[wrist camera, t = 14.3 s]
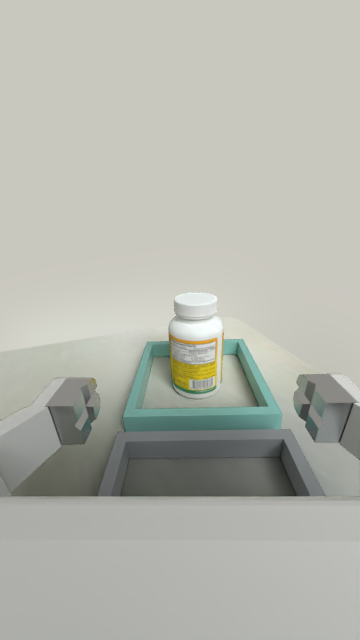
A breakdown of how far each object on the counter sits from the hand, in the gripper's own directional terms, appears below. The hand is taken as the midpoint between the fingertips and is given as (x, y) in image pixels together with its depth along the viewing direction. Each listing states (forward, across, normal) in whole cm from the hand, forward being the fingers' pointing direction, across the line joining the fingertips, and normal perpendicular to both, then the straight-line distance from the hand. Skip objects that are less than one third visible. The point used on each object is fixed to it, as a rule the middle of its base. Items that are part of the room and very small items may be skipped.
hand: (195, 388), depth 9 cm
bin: (+12, -1, +10) cm, 16 cm away
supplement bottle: (+12, -1, +10) cm, 16 cm away
